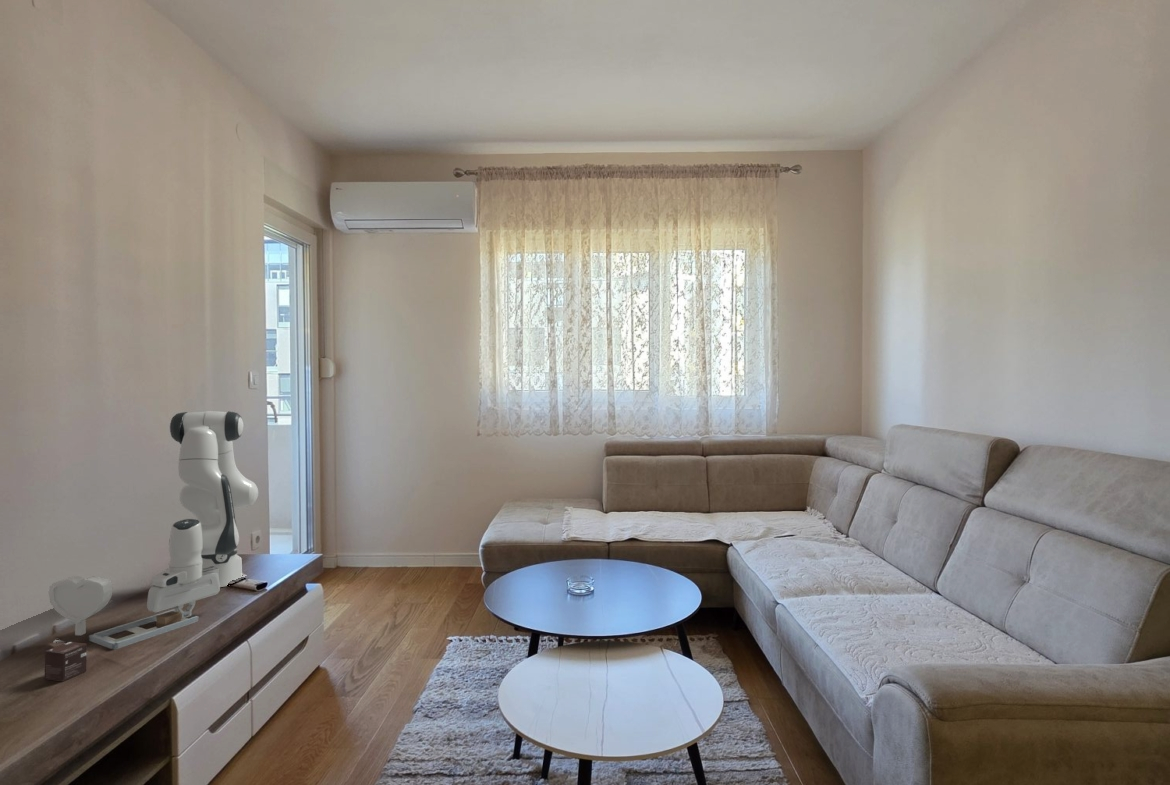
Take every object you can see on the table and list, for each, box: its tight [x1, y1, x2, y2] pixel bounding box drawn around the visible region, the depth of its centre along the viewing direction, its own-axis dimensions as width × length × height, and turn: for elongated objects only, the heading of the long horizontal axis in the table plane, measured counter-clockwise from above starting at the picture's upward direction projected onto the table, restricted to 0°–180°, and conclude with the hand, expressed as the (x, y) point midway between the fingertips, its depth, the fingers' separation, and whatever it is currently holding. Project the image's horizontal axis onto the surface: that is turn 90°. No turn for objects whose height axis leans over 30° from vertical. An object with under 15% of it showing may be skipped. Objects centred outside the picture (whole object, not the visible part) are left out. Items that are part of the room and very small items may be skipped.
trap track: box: [88, 608, 199, 651], centre depth 178 cm, size 23×13×3 cm, turn 154°
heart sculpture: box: [48, 575, 114, 644], centre depth 175 cm, size 16×5×18 cm, turn 93°
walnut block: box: [155, 611, 181, 628], centre depth 182 cm, size 4×4×4 cm
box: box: [44, 641, 87, 682], centre depth 154 cm, size 6×6×7 cm
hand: (185, 617), depth 186 cm, fingers closed
